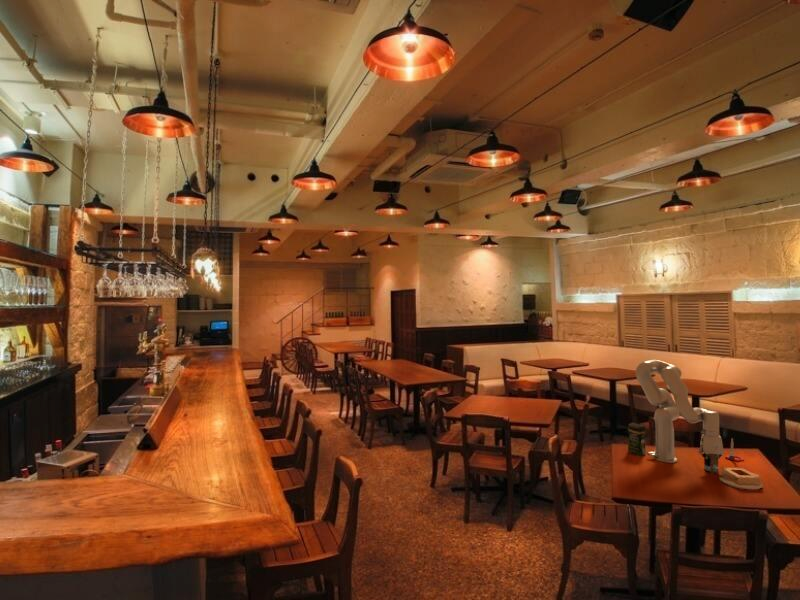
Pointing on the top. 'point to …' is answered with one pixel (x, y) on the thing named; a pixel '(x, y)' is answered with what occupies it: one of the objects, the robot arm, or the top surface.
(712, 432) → the robot arm
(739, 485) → the beige piece
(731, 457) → the tow hook
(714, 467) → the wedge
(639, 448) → the coffee jar
